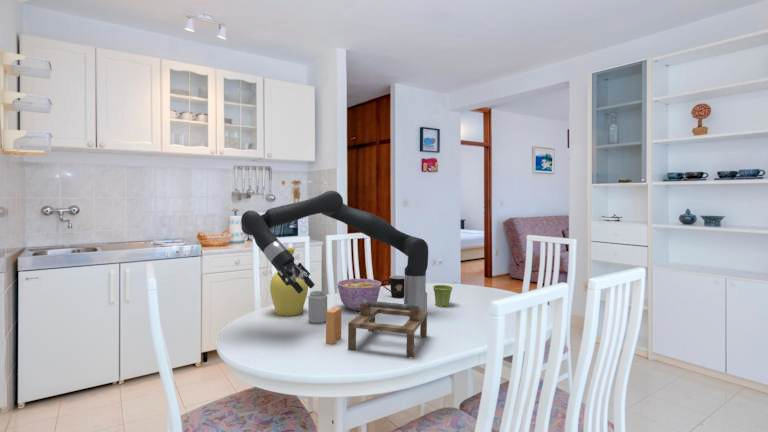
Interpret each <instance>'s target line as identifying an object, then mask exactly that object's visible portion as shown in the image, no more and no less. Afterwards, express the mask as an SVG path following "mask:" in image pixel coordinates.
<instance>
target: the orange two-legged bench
mask: <svg viewBox="0 0 768 432" xmlns="http://www.w3.org/2000/svg"><path fill="white" fill-rule="evenodd" d="M341 339H342V307H337V306H335V307H331V308H329V310H328V309H327V312H326V321H325V344H329V345H335V344H336V340H341Z"/></svg>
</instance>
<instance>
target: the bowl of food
mask: <svg viewBox="0 0 768 432" xmlns="http://www.w3.org/2000/svg"><path fill="white" fill-rule="evenodd" d="M336 285H337V289H338V294H339V298H340V301H341V303H342V305H344V306H345V307H346V308H349V309H350V310H352V311H358V312H360V304H361V303H362V301H363V300H366V301H376V302H378V298H379V295H380V290H381V286H382V282H381V281H379V280H376V279H370V278H348V279H343V280H339V281H337V283H336Z"/></svg>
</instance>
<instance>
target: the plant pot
mask: <svg viewBox="0 0 768 432" xmlns="http://www.w3.org/2000/svg"><path fill="white" fill-rule="evenodd" d="M432 289H433V292H434V299H435V300H434V302H435V305H436V306H437V307H440V306H442V308H443V307H445V306H447V307H449V306H448V305H450V300H451V294H452V290H453V289H454V287H453V286H450V285H446V284H435V285H433V286H432Z"/></svg>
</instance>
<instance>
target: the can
mask: <svg viewBox="0 0 768 432" xmlns="http://www.w3.org/2000/svg"><path fill="white" fill-rule="evenodd" d="M326 293H327V292H326V291H324V290H315V291H311V292H309V295H307V296H308V299H307V301H308V302H307V303H308V310H307V311H308V315H307V317H308V319H307V320H308V321H309V322H310V323H311V324H316V325H317V324H324V323H326V312H327V311H328V295H327V294H326Z"/></svg>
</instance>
